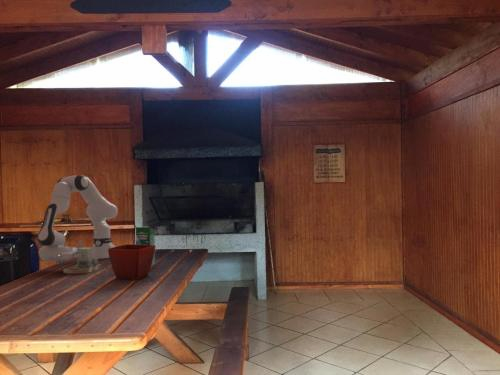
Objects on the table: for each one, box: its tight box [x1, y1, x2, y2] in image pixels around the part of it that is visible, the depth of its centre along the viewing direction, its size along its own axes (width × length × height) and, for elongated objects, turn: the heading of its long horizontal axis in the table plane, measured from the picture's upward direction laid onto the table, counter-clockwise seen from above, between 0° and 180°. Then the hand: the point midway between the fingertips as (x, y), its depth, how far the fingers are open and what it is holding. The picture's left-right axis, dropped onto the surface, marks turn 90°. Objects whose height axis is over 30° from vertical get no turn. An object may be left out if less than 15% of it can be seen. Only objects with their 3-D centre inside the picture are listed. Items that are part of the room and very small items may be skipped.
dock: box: [63, 258, 102, 274], centre depth 250 cm, size 16×15×6 cm
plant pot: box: [108, 244, 156, 281], centre depth 229 cm, size 19×19×17 cm
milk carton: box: [135, 225, 156, 267], centre depth 264 cm, size 9×9×25 cm
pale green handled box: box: [76, 240, 93, 267], centre depth 250 cm, size 5×7×15 cm
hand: (86, 254), depth 250 cm, fingers open, 8 cm apart
